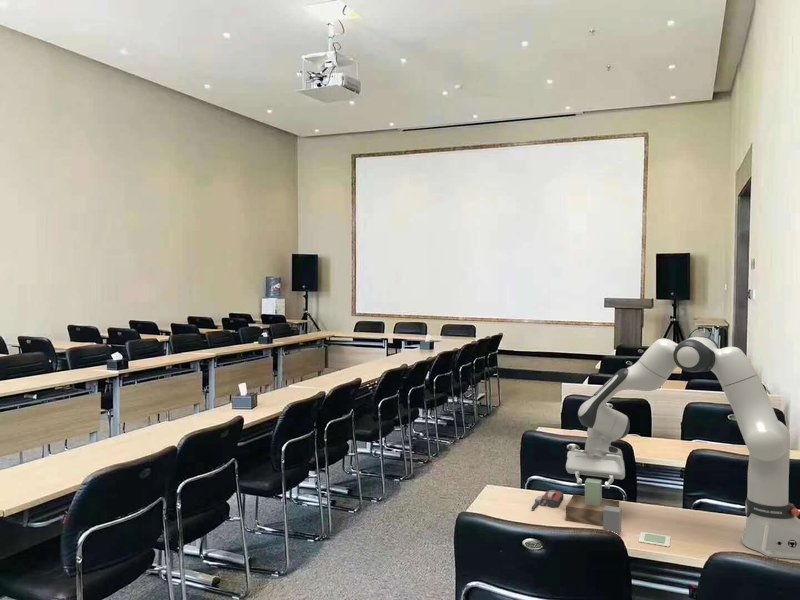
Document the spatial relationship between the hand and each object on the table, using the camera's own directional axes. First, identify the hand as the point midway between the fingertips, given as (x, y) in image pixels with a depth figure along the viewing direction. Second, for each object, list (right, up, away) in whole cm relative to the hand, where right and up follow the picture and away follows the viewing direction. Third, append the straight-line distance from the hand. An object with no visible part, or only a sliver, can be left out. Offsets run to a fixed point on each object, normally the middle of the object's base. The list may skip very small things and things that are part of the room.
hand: (592, 485), depth 221 cm
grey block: (+2, -12, -14) cm, 18 cm away
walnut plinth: (0, -11, +1) cm, 11 cm away
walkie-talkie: (-12, -12, +15) cm, 23 cm away
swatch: (+14, -12, -19) cm, 26 cm away
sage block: (0, -6, +1) cm, 6 cm away
